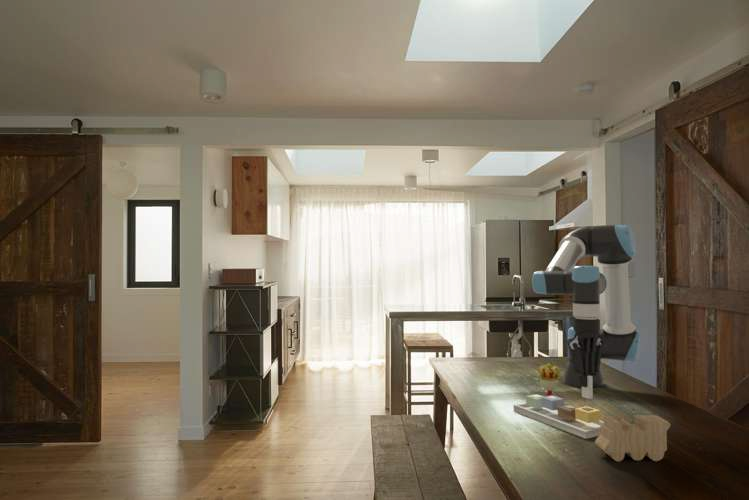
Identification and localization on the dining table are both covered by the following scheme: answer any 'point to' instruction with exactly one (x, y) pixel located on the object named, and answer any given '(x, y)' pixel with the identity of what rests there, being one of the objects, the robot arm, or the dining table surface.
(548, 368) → the toy
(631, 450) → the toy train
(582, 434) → the base
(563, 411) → the key
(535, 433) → the dining table surface
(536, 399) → the key
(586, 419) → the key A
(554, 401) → the blue square block
